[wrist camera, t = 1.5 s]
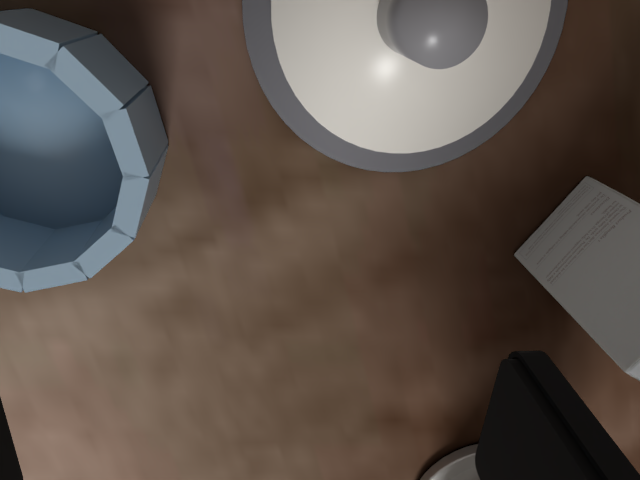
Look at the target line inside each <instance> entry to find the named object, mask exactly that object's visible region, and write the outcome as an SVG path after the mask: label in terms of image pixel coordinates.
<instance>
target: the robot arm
mask: <svg viewBox="0 0 640 480" xmlns="http://www.w3.org/2000/svg"><path fill="white" fill-rule="evenodd" d="M0 480H23V475H22V472H21V468H20V465H19V461H18V458H17V454H16V451H15V447H14V444H13V440H12V437H11V433H10V430H9V426H8V423H7V419H6V415H5V412H4V408H3V405H2V401H1V398H0ZM420 480H640V475H639V473H638V472H637V471H636V469H635V468H634V467H633V466H632V464H631V463H630V462H629V460H628V459H627V458H626V456H625V455H624V454H623V453H622V451H621V450H620V449H619V447H618V446H617V445H616V443H615V442H614V441H613V440H612V438H611V437H610V436H609V434H608V433H607V432H606V431H605V429H604V428H603V427H602V425H601V424H600V423H599V421H598V420H597V419H596V418H595V416H594V415H593V414H592V412H591V411H590V410H589V408H588V407H587V406H586V405H585V403H584V402H583V401H582V399H581V398H580V397H579V395H578V394H577V393H576V392H575V390H574V389H573V388H572V386H571V385H570V384H569V382H568V381H567V380H566V379H565V377H564V376H563V375H562V373H561V372H560V371H559V369H558V368H557V367H556V366H555V364H554V363H553V362H552V360H551V359H550V358H549V357H548V355H547V354H546V353H545V352H542V351H515V352H512V353H511V354H510V355H509V357H508V359H504V360H502V361H501V364H500V367H499V370H498V374H497V378H496V381H495V385H494V388H493V392H492V396H491V399H490V403H489V407H488V410H487V414H486V417H485V421H484V425H483V428H482V432H481V436H480V439H479V443H478V444H475V445H471V446H467V447H465V448H462V449H459V450H457V451H454V452H453V453H451V454H449V455H447V456H445V457H443V458H442V459H441V460H439V461H438V462H436V463H435V464H434V465H432V466H431V467H430V468H429V470H428V471H427V472H426V473H425V474H424V475H423V476H422V478H421V479H420Z"/></svg>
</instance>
